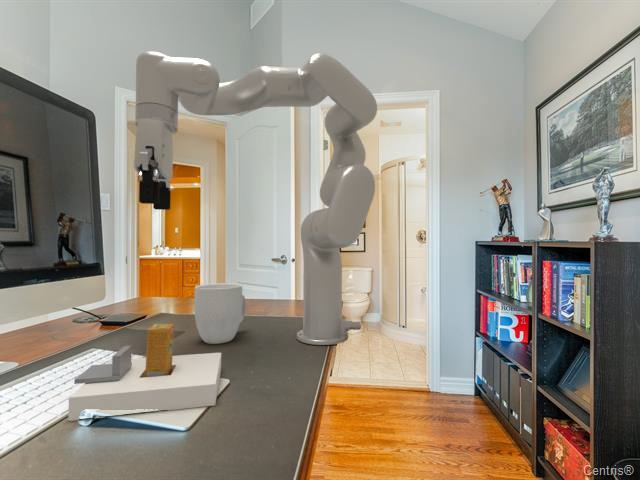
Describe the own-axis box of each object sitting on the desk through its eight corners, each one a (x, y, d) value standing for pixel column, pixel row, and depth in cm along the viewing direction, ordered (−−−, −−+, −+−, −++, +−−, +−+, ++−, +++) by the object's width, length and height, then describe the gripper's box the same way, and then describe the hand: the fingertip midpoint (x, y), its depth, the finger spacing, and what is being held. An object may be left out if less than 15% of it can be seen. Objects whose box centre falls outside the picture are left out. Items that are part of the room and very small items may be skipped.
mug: (228, 328, 88) (228, 280, 89) (261, 333, 83) (261, 282, 84) (183, 343, 75) (184, 286, 75) (219, 350, 70) (219, 289, 70)
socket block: (221, 368, 59) (221, 352, 59) (215, 405, 46) (215, 384, 46) (111, 377, 55) (111, 360, 55) (68, 421, 41) (68, 397, 41)
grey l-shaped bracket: (131, 366, 52) (132, 344, 52) (119, 380, 47) (119, 356, 47) (92, 369, 51) (92, 347, 51) (74, 383, 45) (74, 359, 45)
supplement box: (168, 393, 49) (169, 327, 49) (143, 395, 49) (145, 329, 49) (173, 384, 53) (174, 322, 53) (150, 386, 52) (151, 323, 52)
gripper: (148, 133, 71) (147, 210, 71) (120, 99, 55) (118, 199, 54) (184, 136, 73) (183, 211, 73) (168, 103, 56) (166, 201, 56)
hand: (156, 206), depth 64 cm, fingers open, 9 cm apart
